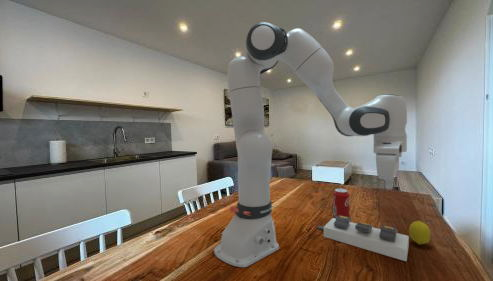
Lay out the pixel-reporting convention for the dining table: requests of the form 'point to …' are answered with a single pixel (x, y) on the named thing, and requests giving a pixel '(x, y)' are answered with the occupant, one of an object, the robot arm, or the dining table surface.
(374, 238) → the rocker switch panel
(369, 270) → the dining table surface
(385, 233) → the rocker
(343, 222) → the rocker
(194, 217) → the dining table surface
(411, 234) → the lemon
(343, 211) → the beverage can
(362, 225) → the rocker
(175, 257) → the dining table surface
